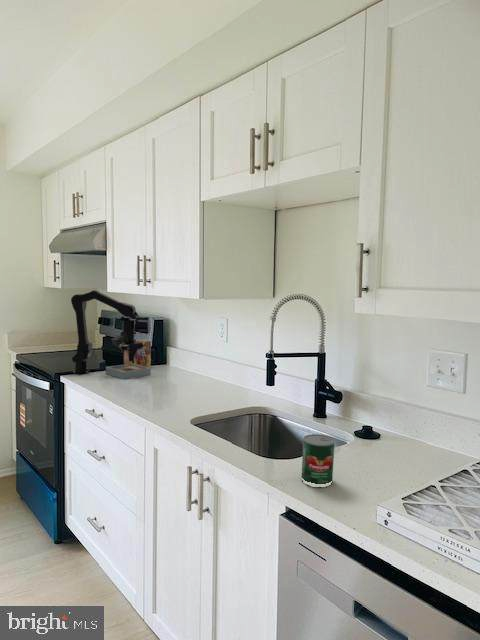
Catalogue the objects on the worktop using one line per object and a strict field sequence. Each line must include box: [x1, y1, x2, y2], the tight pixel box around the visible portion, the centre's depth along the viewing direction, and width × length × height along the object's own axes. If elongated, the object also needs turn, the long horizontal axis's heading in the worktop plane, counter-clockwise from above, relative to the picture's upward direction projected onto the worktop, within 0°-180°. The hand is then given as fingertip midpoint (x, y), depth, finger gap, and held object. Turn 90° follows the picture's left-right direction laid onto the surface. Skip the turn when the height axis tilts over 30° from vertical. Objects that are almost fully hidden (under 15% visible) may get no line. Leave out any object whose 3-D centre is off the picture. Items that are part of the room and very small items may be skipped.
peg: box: [123, 349, 133, 365], centre depth 238 cm, size 4×4×7 cm
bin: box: [105, 363, 152, 380], centre depth 239 cm, size 16×16×4 cm
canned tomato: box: [301, 433, 336, 484], centre depth 120 cm, size 8×8×11 cm
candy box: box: [133, 339, 152, 368], centre depth 256 cm, size 9×4×15 cm, turn 99°
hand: (128, 360), depth 238 cm, fingers closed on peg, 4 cm apart
